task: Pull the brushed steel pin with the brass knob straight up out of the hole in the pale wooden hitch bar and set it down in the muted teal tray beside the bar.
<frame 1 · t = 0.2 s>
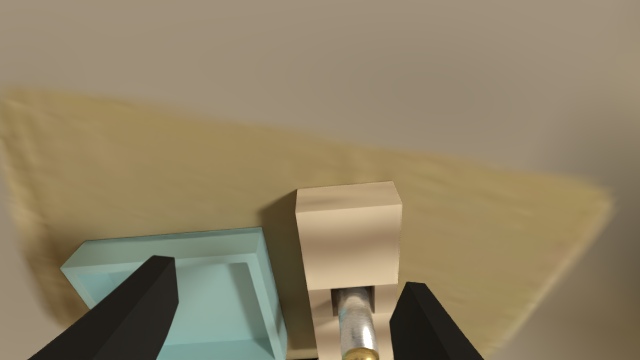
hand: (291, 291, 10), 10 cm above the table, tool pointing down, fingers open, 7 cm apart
hitch bar: (349, 273, 23), on the table
pin: (355, 317, 20), in the hitch bar
tray: (198, 293, 24), on the table
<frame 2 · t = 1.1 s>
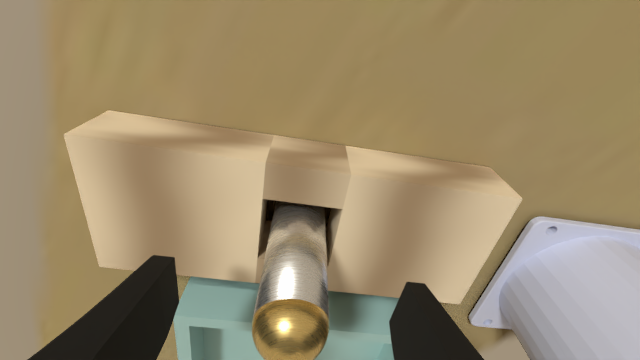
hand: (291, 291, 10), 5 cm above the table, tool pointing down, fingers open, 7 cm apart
hitch bar: (300, 199, 14), on the table
pin: (296, 257, 11), in the hitch bar
tray: (291, 350, 20), on the table
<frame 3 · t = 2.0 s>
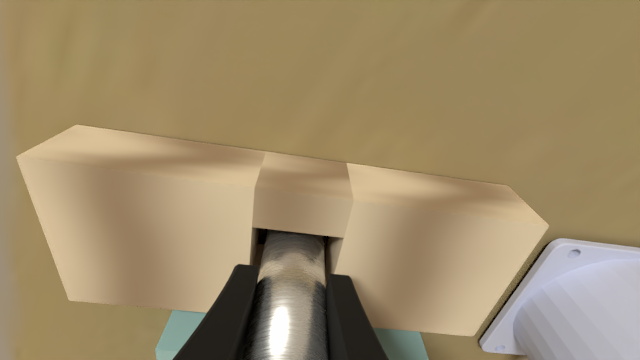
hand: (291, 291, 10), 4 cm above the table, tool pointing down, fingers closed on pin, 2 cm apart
hitch bar: (296, 220, 13), on the table
pin: (290, 294, 10), in the hitch bar, touching gripper
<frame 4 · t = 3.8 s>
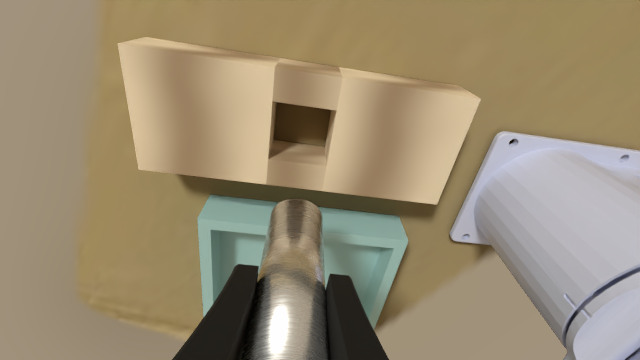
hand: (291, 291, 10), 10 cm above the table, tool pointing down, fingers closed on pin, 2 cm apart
hitch bar: (302, 118, 17), on the table
pin: (290, 294, 10), point 10 cm above the table, touching gripper
tray: (296, 272, 23), on the table
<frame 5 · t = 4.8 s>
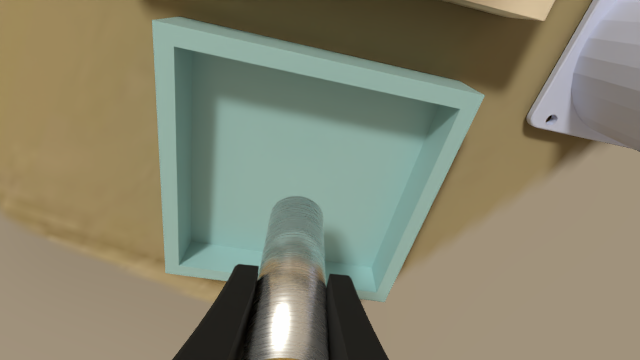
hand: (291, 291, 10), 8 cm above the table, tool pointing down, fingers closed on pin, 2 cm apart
pin: (290, 292, 10), point 8 cm above the table, touching gripper
tray: (301, 172, 16), on the table
when the fingers open (6 cm above the table, at t = 5.4 s): pin drops 1 cm, resting on tray.
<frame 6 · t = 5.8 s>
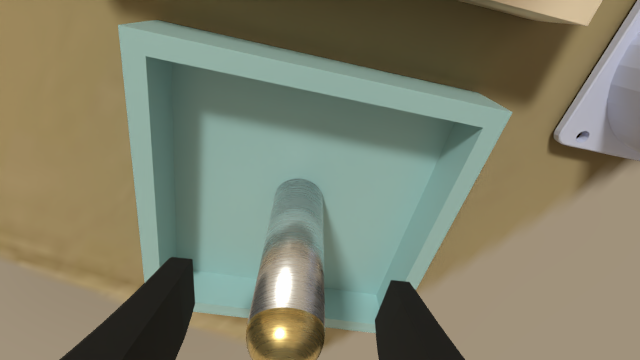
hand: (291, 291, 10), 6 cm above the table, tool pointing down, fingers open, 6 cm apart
pin: (292, 260, 11), in the tray, point 4 cm above the table
tray: (298, 193, 15), on the table
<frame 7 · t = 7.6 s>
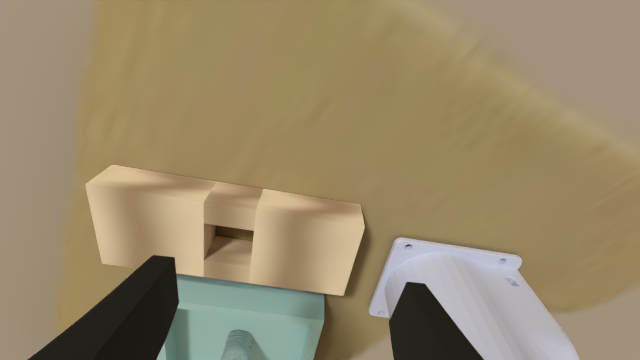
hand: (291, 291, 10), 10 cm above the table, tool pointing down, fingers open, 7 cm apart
hitch bar: (237, 222, 21), on the table
tray: (242, 332, 27), on the table
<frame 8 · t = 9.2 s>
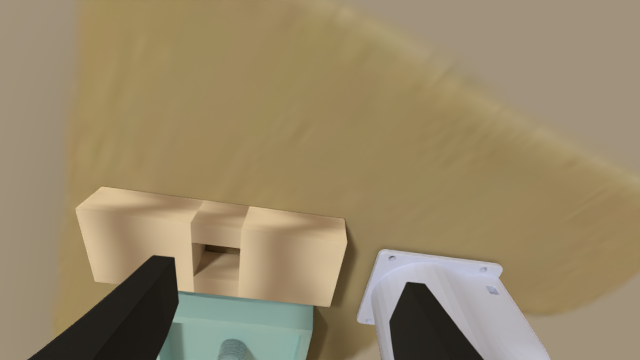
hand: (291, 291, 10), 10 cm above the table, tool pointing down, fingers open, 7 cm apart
hitch bar: (226, 237, 22), on the table
tray: (235, 340, 28), on the table
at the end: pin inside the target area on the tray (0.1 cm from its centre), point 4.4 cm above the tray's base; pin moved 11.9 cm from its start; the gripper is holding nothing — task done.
